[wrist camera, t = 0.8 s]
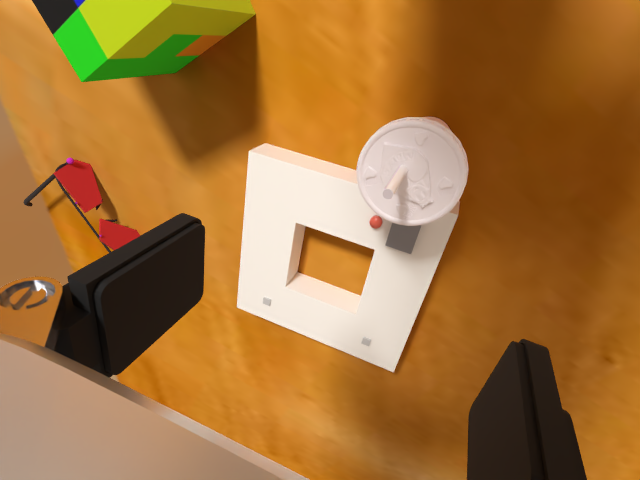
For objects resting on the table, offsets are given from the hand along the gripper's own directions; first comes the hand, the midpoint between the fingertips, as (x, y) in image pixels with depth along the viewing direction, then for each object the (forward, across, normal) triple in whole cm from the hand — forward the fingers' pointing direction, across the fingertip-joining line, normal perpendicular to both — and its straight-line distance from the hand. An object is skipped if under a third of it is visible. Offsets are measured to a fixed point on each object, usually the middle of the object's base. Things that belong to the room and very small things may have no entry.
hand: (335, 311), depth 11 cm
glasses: (+23, +38, +22) cm, 50 cm away
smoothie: (+23, 0, 0) cm, 23 cm away
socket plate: (+23, +5, +13) cm, 26 cm away
